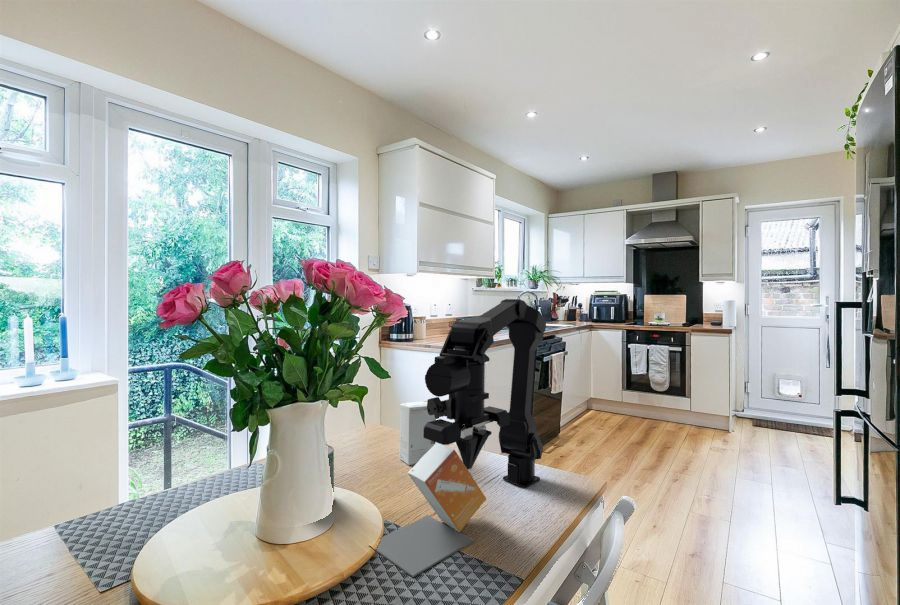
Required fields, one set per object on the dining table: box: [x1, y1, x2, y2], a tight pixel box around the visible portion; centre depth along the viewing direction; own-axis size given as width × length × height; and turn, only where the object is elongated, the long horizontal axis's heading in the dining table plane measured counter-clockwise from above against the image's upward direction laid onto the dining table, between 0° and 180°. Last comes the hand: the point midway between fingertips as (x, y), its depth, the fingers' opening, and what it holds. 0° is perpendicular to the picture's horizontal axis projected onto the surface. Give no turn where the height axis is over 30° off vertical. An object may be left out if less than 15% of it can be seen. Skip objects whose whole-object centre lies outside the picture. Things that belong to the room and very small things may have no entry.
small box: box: [407, 442, 487, 533], centre depth 82 cm, size 8×6×13 cm
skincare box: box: [398, 400, 437, 466], centre depth 115 cm, size 8×6×15 cm
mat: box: [375, 515, 474, 578], centre depth 76 cm, size 14×12×1 cm
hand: (468, 468), depth 83 cm, fingers closed
